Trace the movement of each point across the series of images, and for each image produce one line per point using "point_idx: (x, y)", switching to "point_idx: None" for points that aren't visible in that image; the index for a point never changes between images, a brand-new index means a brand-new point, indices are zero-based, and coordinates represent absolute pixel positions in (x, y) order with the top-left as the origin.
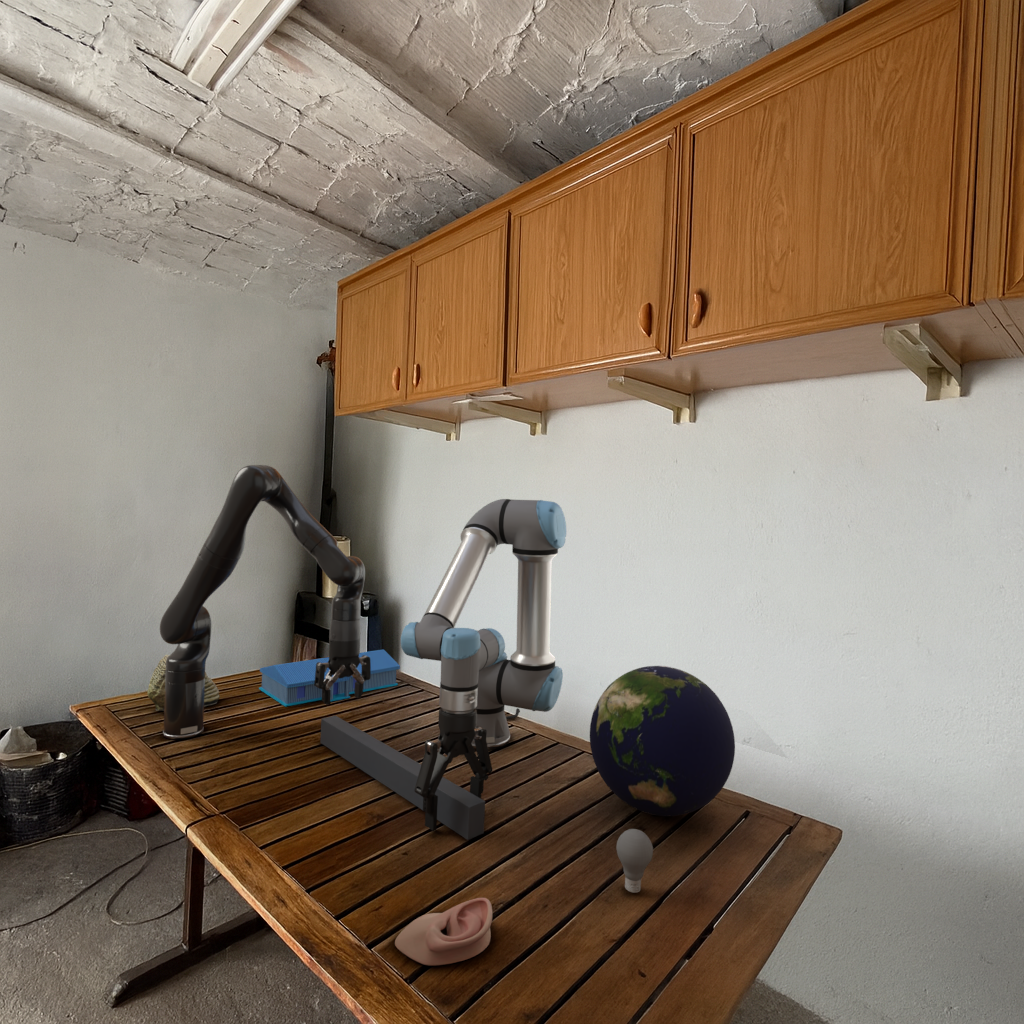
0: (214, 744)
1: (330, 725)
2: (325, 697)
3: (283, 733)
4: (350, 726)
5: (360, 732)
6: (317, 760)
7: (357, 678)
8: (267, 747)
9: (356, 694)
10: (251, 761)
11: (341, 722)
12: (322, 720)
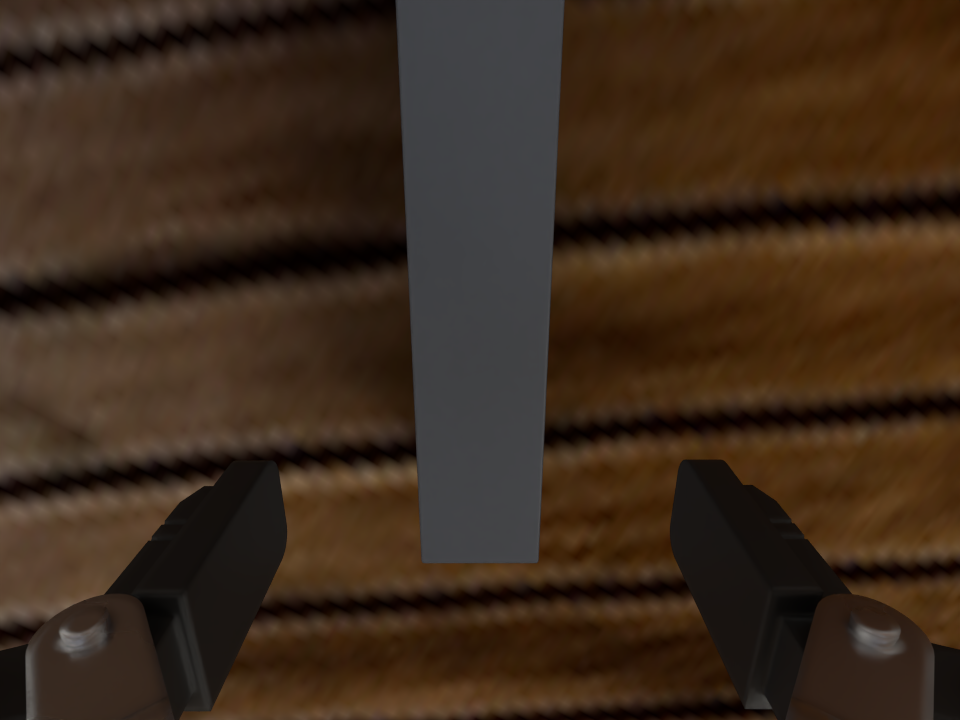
0: None
1: (543, 430)
2: (784, 532)
3: (606, 658)
4: (439, 300)
5: (438, 106)
6: (673, 253)
7: (166, 701)
8: None
9: (269, 527)
10: (928, 450)
11: (455, 420)
12: (538, 541)
